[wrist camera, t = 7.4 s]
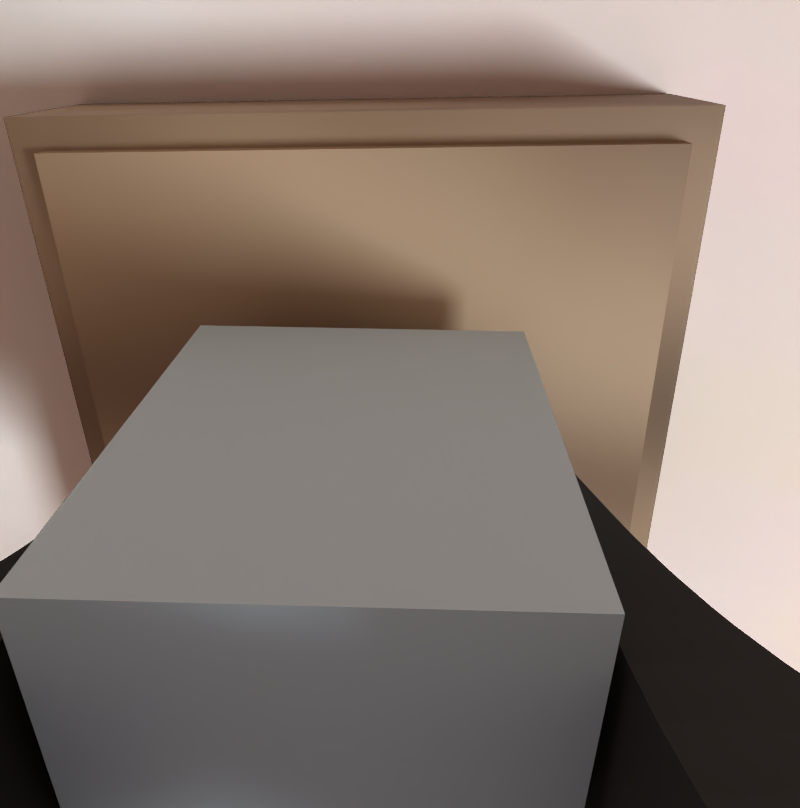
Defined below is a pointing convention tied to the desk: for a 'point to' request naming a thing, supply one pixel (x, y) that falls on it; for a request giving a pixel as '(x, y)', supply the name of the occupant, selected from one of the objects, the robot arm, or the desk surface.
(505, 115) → the walnut base
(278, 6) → the desk surface
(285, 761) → the slate block
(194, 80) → the desk surface
